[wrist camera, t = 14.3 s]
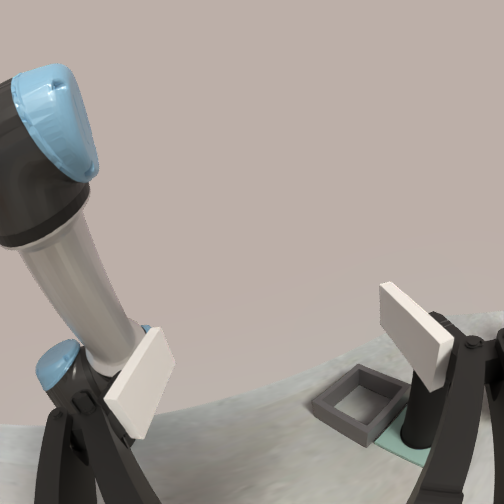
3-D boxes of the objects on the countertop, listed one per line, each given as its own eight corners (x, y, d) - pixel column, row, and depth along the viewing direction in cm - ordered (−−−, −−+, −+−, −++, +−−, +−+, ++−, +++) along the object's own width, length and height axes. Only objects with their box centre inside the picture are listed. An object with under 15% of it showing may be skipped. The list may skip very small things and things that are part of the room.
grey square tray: (314, 415, 43) (312, 400, 42) (358, 379, 50) (358, 363, 49) (366, 447, 32) (367, 433, 31) (408, 400, 39) (411, 384, 38)
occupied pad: (374, 443, 33) (374, 441, 32) (412, 400, 38) (412, 397, 38) (431, 471, 23) (431, 469, 22) (463, 418, 28) (464, 416, 28)
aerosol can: (445, 447, 25) (481, 352, 20) (397, 451, 29) (417, 360, 24) (443, 411, 32) (466, 316, 27) (401, 414, 36) (413, 321, 31)
